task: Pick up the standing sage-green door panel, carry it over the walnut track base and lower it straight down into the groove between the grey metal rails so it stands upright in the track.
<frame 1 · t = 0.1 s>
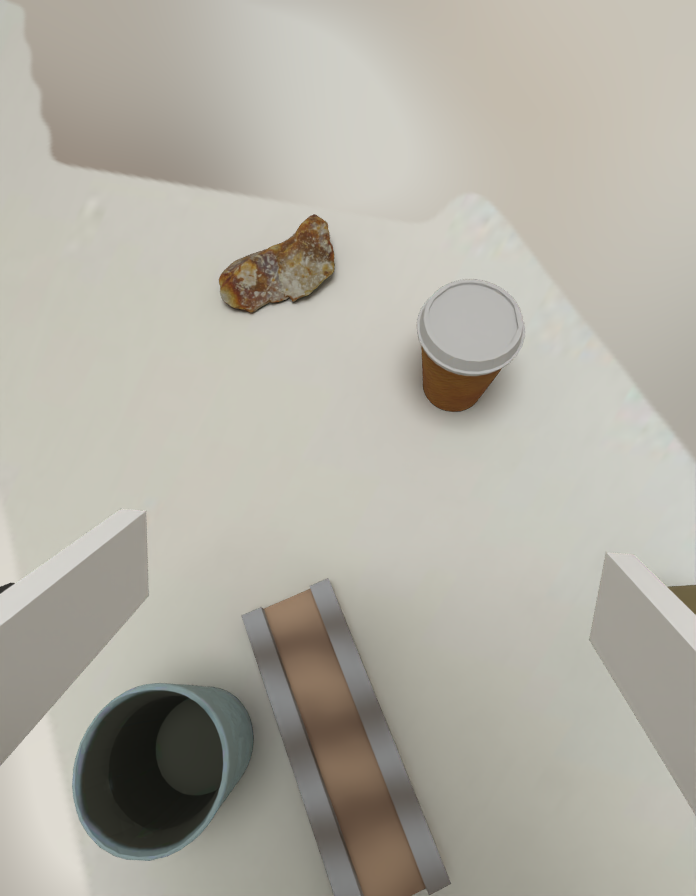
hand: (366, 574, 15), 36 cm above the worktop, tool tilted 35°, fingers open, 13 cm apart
disposable coffee cup: (452, 386, 58), on the worktop
decorative stone: (281, 280, 64), on the worktop
track base: (338, 734, 46), on the worktop
squeeze bottle: (656, 639, 48), on the worktop
teal cup: (202, 743, 46), on the worktop
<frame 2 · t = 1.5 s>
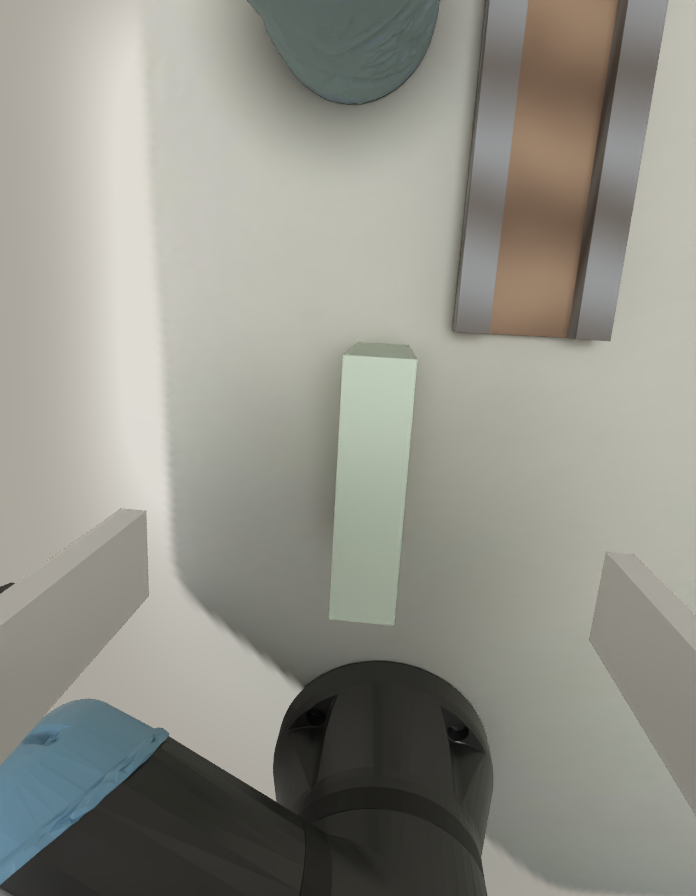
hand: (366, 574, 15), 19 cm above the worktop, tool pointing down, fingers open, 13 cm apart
door panel: (376, 440, 34), on the worktop
track base: (551, 104, 29), on the worktop
teal cup: (350, 18, 29), on the worktop
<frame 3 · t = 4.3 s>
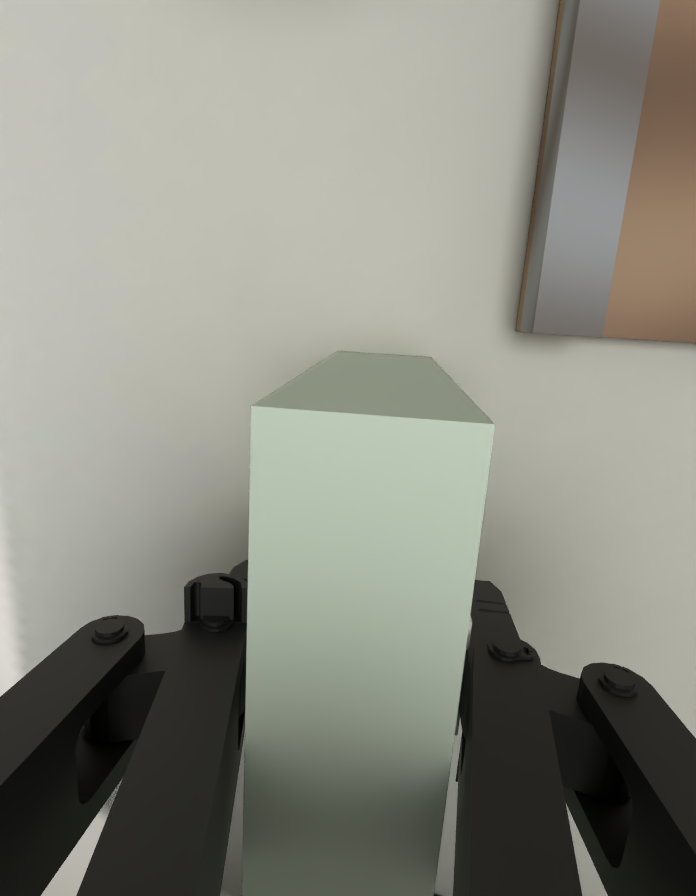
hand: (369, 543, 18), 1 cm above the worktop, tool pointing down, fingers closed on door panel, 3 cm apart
door panel: (370, 529, 19), on the worktop, touching gripper
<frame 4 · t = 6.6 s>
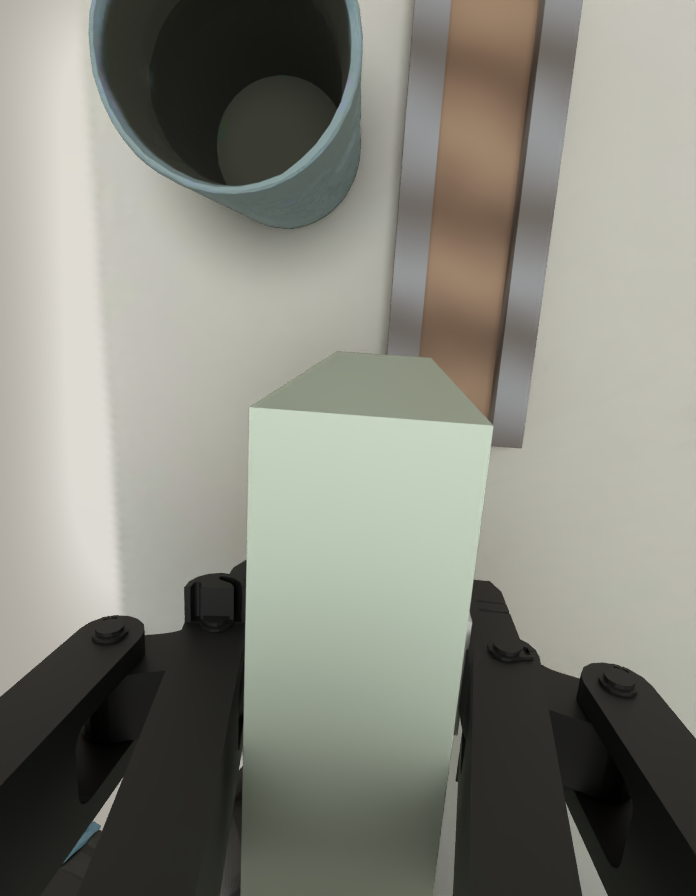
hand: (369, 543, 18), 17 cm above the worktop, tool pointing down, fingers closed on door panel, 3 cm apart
door panel: (370, 529, 19), point 16 cm above the worktop, touching gripper
track base: (467, 232, 31), on the worktop
teal cup: (282, 152, 31), on the worktop
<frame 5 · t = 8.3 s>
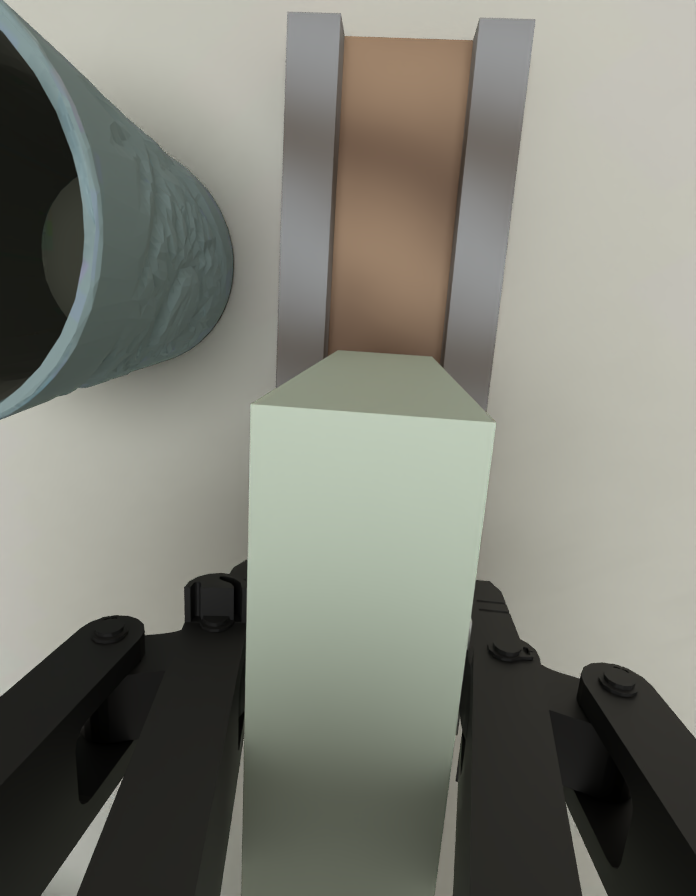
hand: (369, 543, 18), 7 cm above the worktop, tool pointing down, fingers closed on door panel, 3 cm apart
door panel: (371, 528, 19), point 6 cm above the worktop, touching gripper
track base: (382, 371, 23), on the worktop
teal cup: (133, 262, 23), on the worktop
when the fingers open (4 cm above the worktop, at t = 9.2 s): door panel drops 1 cm, resting on track base.
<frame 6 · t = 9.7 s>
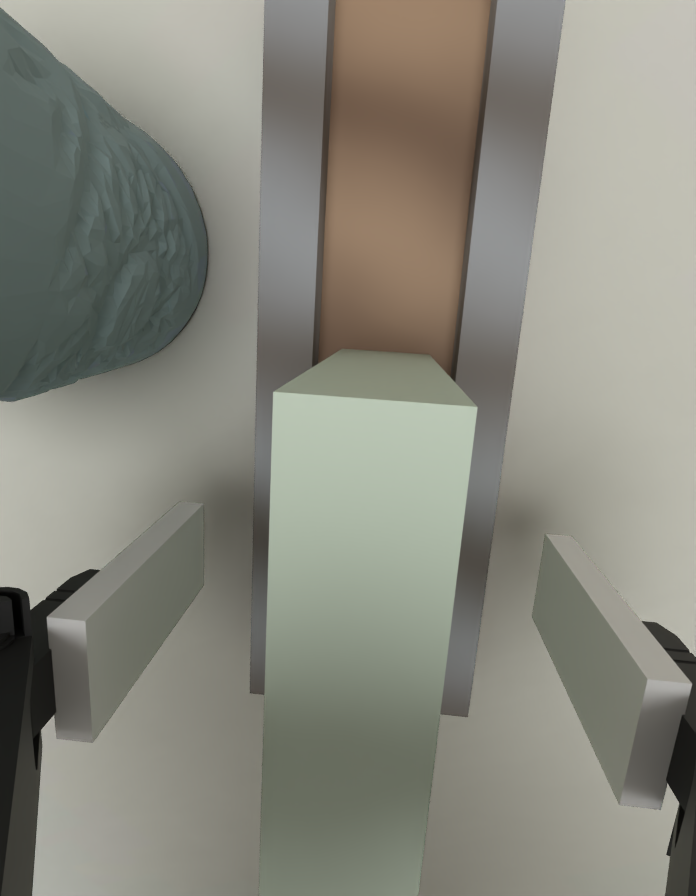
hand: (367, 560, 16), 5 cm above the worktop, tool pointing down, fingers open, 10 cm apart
door panel: (372, 515, 20), point 1 cm above the worktop, touching track base
track base: (383, 377, 20), on the worktop
teal cup: (91, 250, 20), on the worktop
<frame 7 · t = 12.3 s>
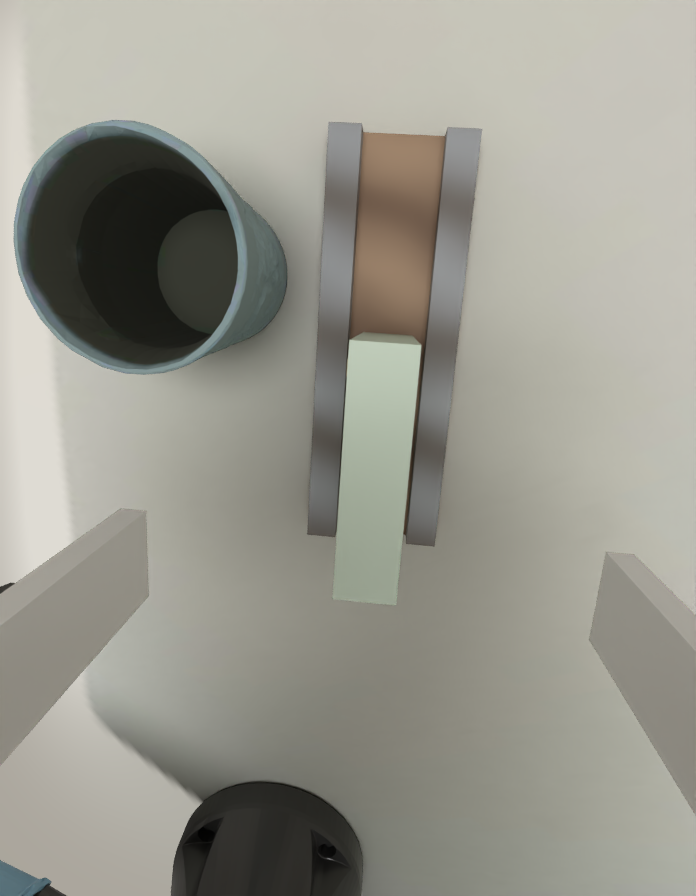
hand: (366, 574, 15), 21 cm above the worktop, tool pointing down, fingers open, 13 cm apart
door panel: (380, 429, 35), point 1 cm above the worktop, touching track base
track base: (386, 349, 34), on the worktop
teal cup: (218, 275, 34), on the worktop
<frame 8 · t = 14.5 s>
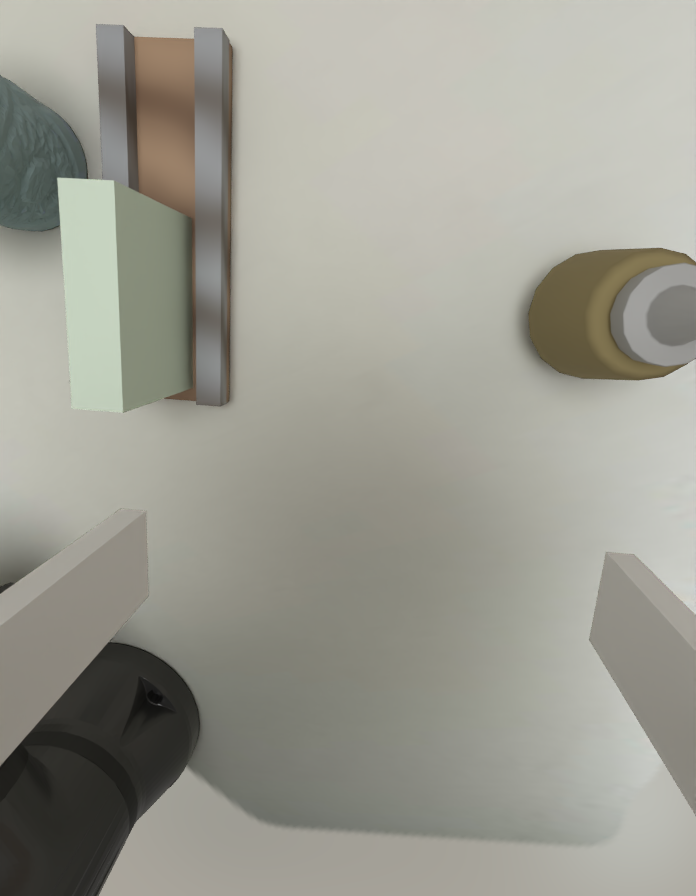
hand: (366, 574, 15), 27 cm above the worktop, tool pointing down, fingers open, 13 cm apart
door panel: (172, 304, 40), point 1 cm above the worktop, touching track base
track base: (176, 234, 39), on the worktop
squeeze bottle: (572, 316, 39), on the worktop
teal cup: (30, 170, 39), on the worktop
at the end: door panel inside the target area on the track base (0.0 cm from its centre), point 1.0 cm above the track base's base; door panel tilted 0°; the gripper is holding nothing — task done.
